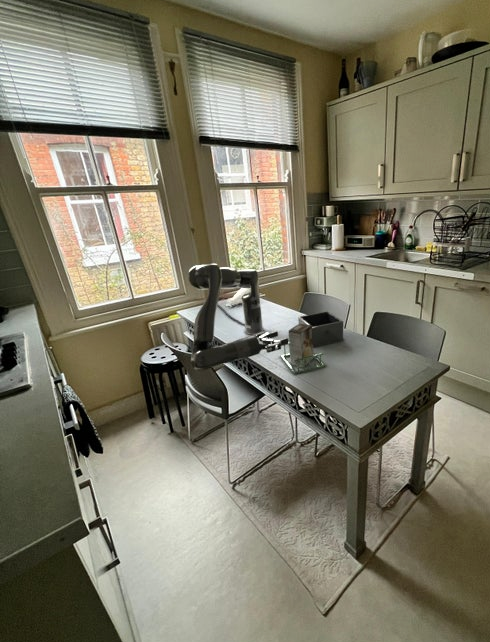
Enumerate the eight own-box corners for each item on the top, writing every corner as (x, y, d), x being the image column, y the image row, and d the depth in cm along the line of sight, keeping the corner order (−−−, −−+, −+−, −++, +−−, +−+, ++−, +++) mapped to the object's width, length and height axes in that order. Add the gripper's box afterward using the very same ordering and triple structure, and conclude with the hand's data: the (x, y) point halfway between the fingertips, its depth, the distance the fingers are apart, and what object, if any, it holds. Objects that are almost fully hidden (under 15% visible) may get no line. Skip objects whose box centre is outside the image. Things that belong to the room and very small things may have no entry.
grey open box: (299, 334, 163) (298, 316, 159) (327, 328, 169) (327, 311, 165) (312, 347, 149) (311, 327, 145) (343, 340, 155) (343, 321, 151)
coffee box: (301, 355, 142) (299, 322, 136) (313, 358, 139) (312, 325, 132) (290, 364, 135) (288, 330, 128) (303, 368, 132) (301, 333, 125)
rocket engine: (222, 294, 205) (245, 282, 213) (220, 301, 215) (242, 290, 223) (232, 308, 204) (254, 296, 212) (229, 315, 214) (251, 303, 222)
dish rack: (280, 357, 142) (279, 344, 139) (309, 350, 146) (308, 338, 144) (294, 374, 128) (293, 360, 125) (325, 366, 132) (325, 353, 130)
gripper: (252, 345, 112) (291, 333, 120) (237, 332, 123) (273, 323, 131) (254, 363, 115) (292, 351, 123) (239, 349, 127) (275, 339, 134)
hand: (282, 336), depth 127 cm, fingers open, 8 cm apart
